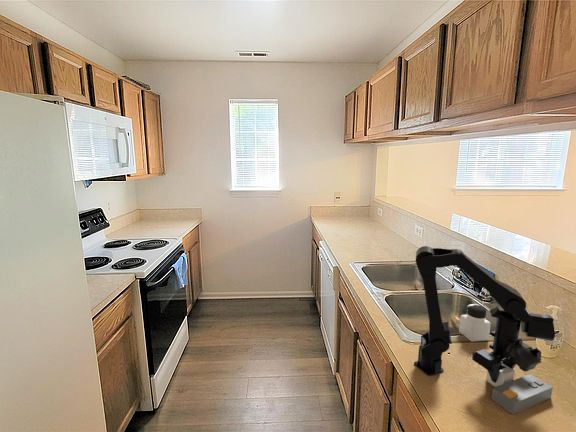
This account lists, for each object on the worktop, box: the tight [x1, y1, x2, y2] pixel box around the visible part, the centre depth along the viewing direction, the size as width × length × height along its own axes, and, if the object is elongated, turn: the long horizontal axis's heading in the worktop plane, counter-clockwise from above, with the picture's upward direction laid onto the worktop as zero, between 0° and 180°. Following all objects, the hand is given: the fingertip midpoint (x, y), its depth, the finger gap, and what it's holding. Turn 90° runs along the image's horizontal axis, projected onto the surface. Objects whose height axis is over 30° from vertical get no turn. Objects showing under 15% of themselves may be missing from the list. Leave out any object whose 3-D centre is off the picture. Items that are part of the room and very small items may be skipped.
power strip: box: [491, 373, 553, 415], centre depth 92 cm, size 6×16×4 cm, turn 112°
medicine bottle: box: [458, 303, 492, 343], centre depth 123 cm, size 7×7×12 cm
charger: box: [485, 363, 516, 387], centre depth 97 cm, size 8×4×6 cm, turn 22°
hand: (499, 379), depth 98 cm, fingers closed on charger, 4 cm apart
